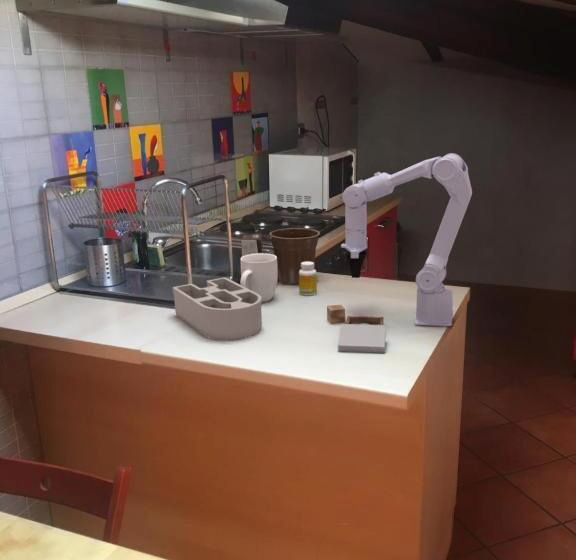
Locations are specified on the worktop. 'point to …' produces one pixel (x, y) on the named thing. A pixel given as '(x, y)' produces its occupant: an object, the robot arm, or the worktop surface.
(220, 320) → the compartment caddy
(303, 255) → the plant pot
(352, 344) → the lid
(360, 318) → the frame
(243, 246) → the coffee box
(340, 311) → the beech block
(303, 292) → the supplement bottle
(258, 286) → the mug
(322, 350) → the worktop surface
